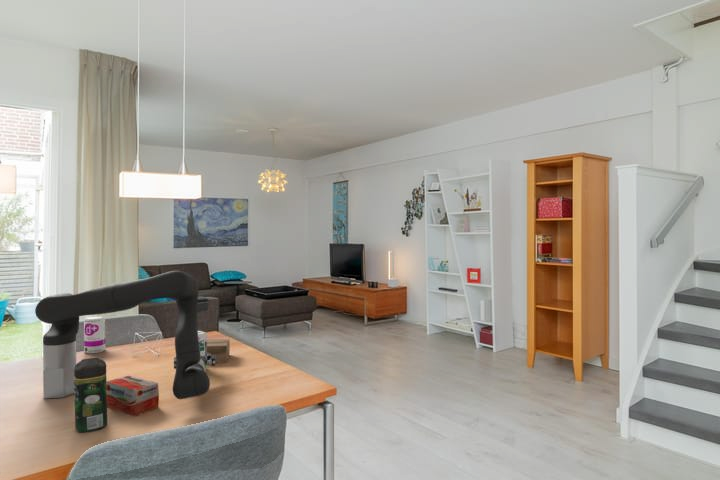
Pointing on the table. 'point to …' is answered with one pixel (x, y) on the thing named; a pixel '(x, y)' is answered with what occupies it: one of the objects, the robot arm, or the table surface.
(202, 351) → the syrup box
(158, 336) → the geometric polyhedron
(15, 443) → the table surface
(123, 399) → the medicine box
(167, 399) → the table surface
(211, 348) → the walnut block
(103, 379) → the coffee jar
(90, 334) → the supplement can
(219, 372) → the table surface
